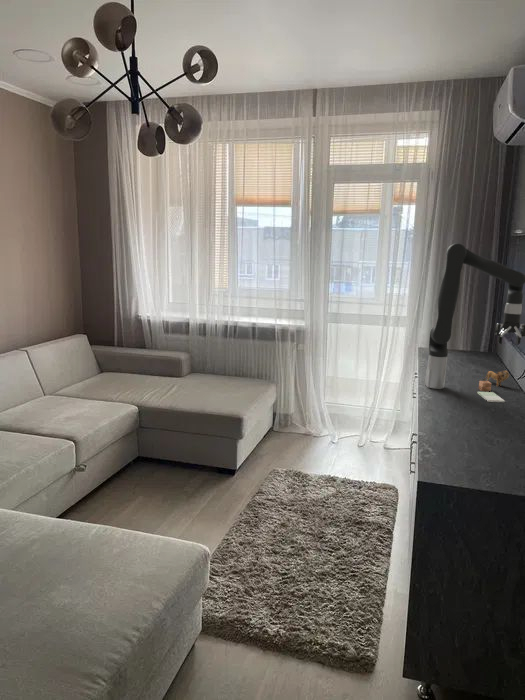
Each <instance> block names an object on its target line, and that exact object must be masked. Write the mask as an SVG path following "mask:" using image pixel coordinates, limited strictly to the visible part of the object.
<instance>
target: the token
mask: <svg viewBox="0 0 525 700" xmlns="http://www.w3.org/2000/svg"><path fill="white" fill-rule="evenodd" d="M478 390H480V392H489V391H490V392H492V391H491V390H492V382H490V380H489V381H487V380H479V383H478Z"/></svg>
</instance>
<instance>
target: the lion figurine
mask: <svg viewBox="0 0 525 700" xmlns="http://www.w3.org/2000/svg"><path fill="white" fill-rule="evenodd" d="M509 377H510V374H509V372H508V371H507V370H501V371H498V372H494V371H492V370H490V371H488V372H487V373H486V376H485V378H482V381H489V382H490V379H492V380H495V381H496V387H498V386H499V385H500V386H499V387H502V384H501V383H502V382H505V381H506V380H508V378H509Z"/></svg>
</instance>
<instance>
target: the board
mask: <svg viewBox="0 0 525 700" xmlns="http://www.w3.org/2000/svg"><path fill="white" fill-rule="evenodd" d="M476 393H477V394H478V395H479V396H480V397H481V398H483V399H484V400H485V401H486V400H487V402H490V403H491V402H492V403H505V402H506V400H504V399H503V398H501V396H499V395H498V394H497V393H495V392H494V391H491V392H489V391H476Z"/></svg>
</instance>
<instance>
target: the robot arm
mask: <svg viewBox="0 0 525 700" xmlns="http://www.w3.org/2000/svg"><path fill="white" fill-rule="evenodd" d="M445 265H446V266H445V271H444V274H443V277H442V280H441V282H440V288H439V292H438V297H437V320H436V324H435V325H433V326H432V327H431V329H430V331H429V332H430V333H429V340H428V361H427V367H426V368H425V370H426V371H425V379H424V385H425V386H426V387H427V388H429V389H434V390H442V389H444V388H445V385H446V384H445V382H446V371H447V365H448V354H449V351H448V350H449V349H448V342H449V341H450V339H451V337H452V328H453V326H452V325H453V319H454V314H455V311H456V306H457V302H458V297H459V291H460V284H461V274H462V268H463V265H466V266H470V267H473V268H474V269H477V270H479V272H481V273H484V274H487V275H489V276H491V277H493V278H496V279H498V280H501V281H503V282H504V283H507V296H506V303H505V306H504V313H503V322H502V323H499V322H497V323H496V325H495V330H494V335H495V336H497V343H498V344H499V345H503V338H504V337H503V336H504V335H506V334H507V333H513V334H515V335H516V339H515V345H517V346H519V345H520V344H521V340H522V338H523V337H525V324H524V323H522V324H520V323H521V317H522V310H523V306H522V305H523V297H524V293H523V287H524V285H525V274H524V273H523V272H521V271H519V270H518V271H517V270H515V269H512V268H509V267H508V266H506V265H504V264H503V263H500V262H497V261H496V260H492V259H490V258H486V257H484V256H481V255H479V254H477V253H474V252H472V251H471V250H469V249H467V248H466V246H464V244H462V243H456V242H455V243H453V244H451V245H450V246H448V247H447V250H446V264H445ZM519 328H520V330H519Z"/></svg>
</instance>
